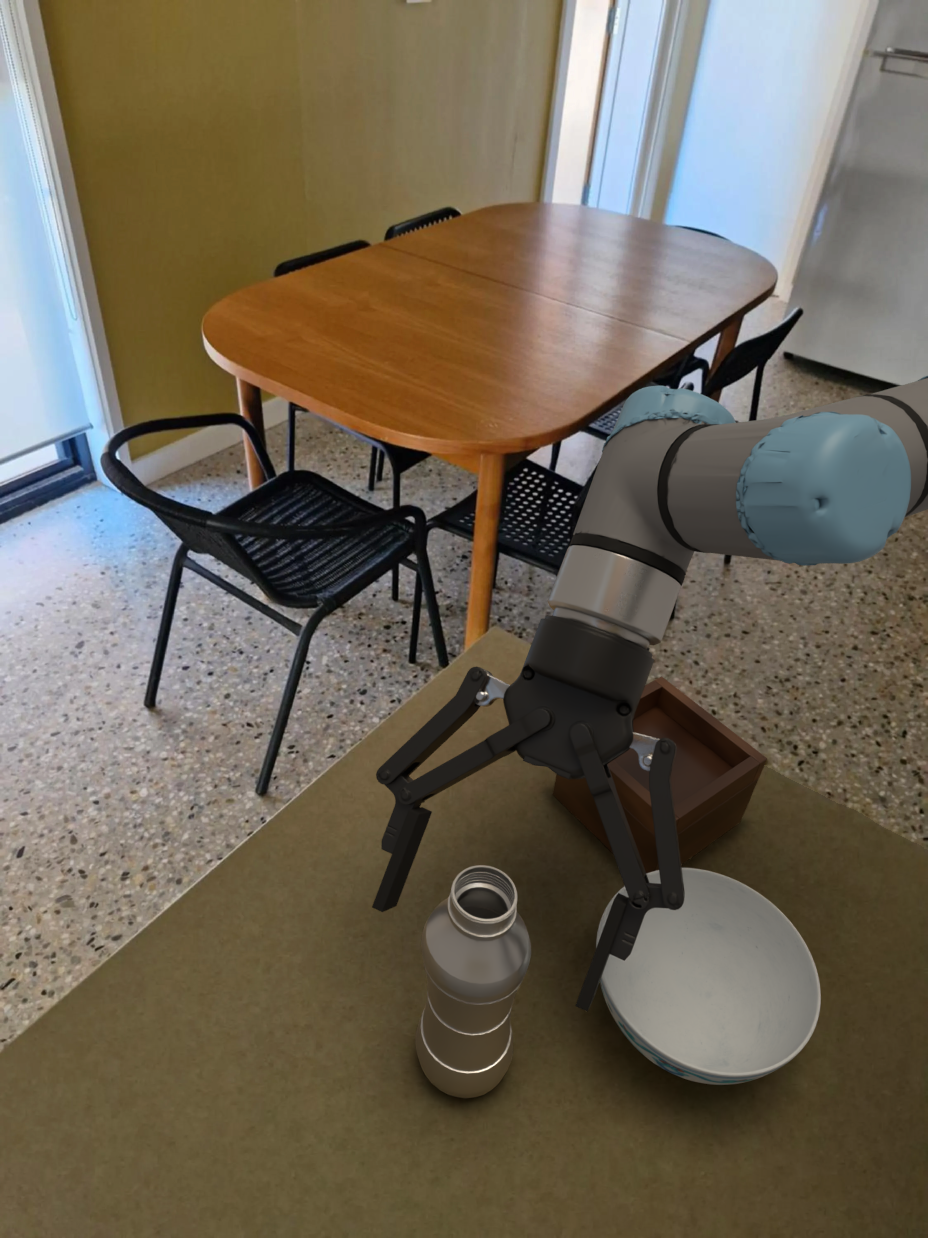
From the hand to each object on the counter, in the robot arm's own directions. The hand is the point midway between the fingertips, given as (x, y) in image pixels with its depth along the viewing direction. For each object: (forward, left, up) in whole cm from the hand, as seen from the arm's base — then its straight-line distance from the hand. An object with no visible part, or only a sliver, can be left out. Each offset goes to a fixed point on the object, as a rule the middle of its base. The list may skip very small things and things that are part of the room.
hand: (480, 954), depth 55 cm
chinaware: (-8, -14, -12) cm, 20 cm away
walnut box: (+7, -26, -12) cm, 30 cm away
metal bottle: (-1, +1, -12) cm, 12 cm away
